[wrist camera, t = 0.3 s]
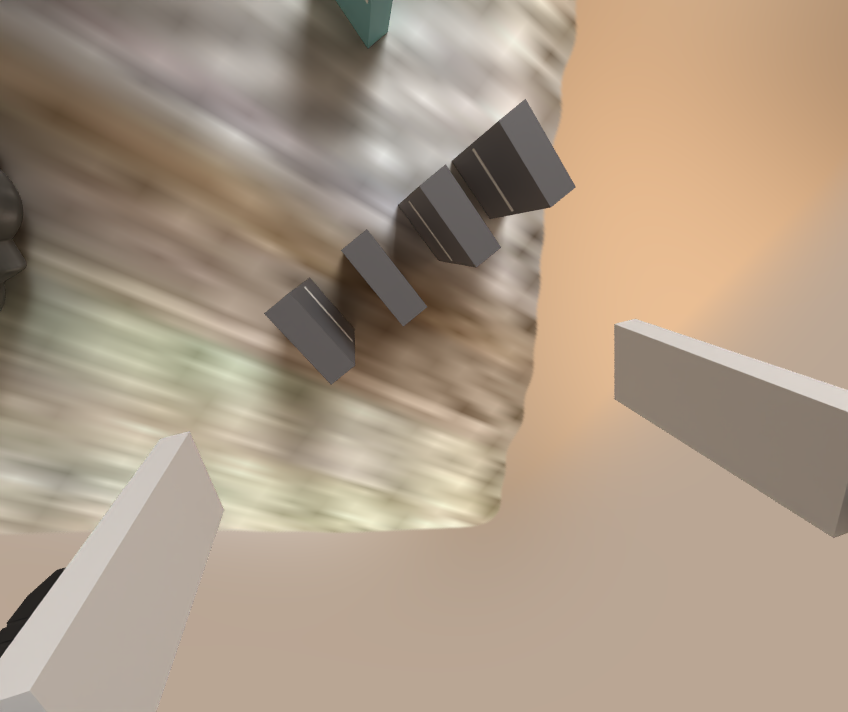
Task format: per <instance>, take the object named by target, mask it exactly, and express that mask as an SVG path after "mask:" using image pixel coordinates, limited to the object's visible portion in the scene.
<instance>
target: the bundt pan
mask: <svg viewBox="0 0 848 712" xmlns="http://www.w3.org/2000/svg"><path fill="white" fill-rule="evenodd" d="M22 218H23V207H22V201H21V198H20V196H19V193H18V191H17V190H16V188H15V186H14V184H13V183H12V181H11V180H10V179H9V178H8V176H7V175H6V174H5V173H4V172H3V171H2V170H1V169H0V311H1V310H2V307H3V304H4V301H5V286H4V281H6V280H7V279H9V278H11V277H12V276H14V275H15V274H17V273H19V272H20V271H22V270H23V269H25V267H26V261H25V259H24V257H23V256H22V254H21V253H20V251H19V249H18V248H17V246H16V245H15V243H14V241H13V240H12V238H13V237H14V235H15V234H16V233H17V231H18V229H19V227H20V225H21V222H22Z"/></svg>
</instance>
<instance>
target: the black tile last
mask: <svg viewBox="0 0 848 712" xmlns="http://www.w3.org/2000/svg"><path fill="white" fill-rule="evenodd" d="M264 314H265V315H266V316H267V317H268V318H269V319H270V320H271V321H272V322H273V323H274V325H275V326H276V327H277V328H278V329H279V330H280V331H281V332H282V333H283V334H284V335H285V336H286V337H287V338H288V339H289V340H290V342H291V343H292V344H293V345H294V346H295V347H296V348H297V349H298V350H299V351H300V352H301V353H302V354H303V355H304V356H305V357H306V359H307V360H308V361H309V362H310V363H311V364H312V365H313V366H314V367H315V368H316V369H317V370H318V371H319V372H320V373H321V374H322V376H323V377H324V378H325V379H326V380H327V381H328V382H329V383H330V384H333V383H334V382H335V381H336V380H338V379H339V378H340V377H341V376H343V375H344V374H345V373H346V372H347V371H349V370H350V369H351V368H352V367H354V366H355V335H354V328H353V327H352V326H351V325H350V324H349V322H348V321H347V320H346V319H345V318H344V317H343V315H342V314H341V313H340V312H339V311H338V310H337V309H336V307H335V306H334V305H333V304H332V303H331V302H330V300H329V299H328V298H327V297H326V296H325V295H324V294H323V292H322V291H321V290H320V289H319V288H318V287H317V285H316V284H315V283H314V282H313V281H312V280H311V279H310V278H309V279H307V280H306V281H305V282H303V283H302V284H301V285H299V286H298V287H297V288H295V289H294V290H292V291H291V292H290V293H289V294H287V295H286V296H285V297H284V298H282V299H281V300H280V301H279V302H278V303H276V304H275V305H274V306H273V307H272V308H270V309H269V310H268V311H267V312H265V313H264Z"/></svg>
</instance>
